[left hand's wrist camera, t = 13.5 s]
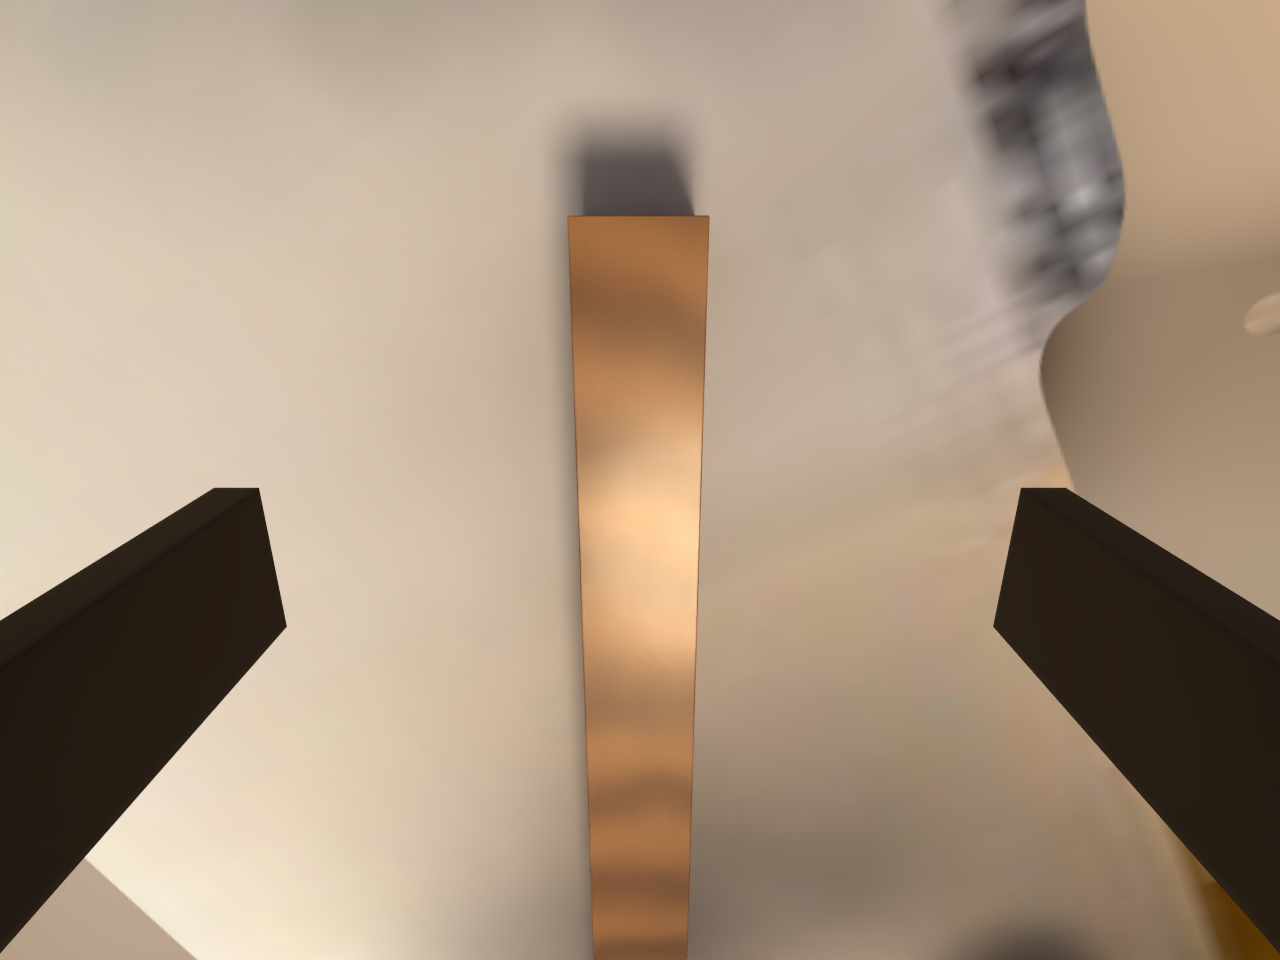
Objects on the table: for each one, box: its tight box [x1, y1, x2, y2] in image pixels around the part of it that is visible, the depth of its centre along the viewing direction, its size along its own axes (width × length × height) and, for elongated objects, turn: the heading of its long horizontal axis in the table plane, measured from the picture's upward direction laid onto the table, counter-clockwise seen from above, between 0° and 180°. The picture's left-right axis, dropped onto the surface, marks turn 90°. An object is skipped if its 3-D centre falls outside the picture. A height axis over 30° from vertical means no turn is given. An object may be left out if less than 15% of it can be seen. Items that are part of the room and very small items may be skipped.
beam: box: [568, 216, 709, 960], centre depth 45 cm, size 74×6×8 cm, turn 0°
